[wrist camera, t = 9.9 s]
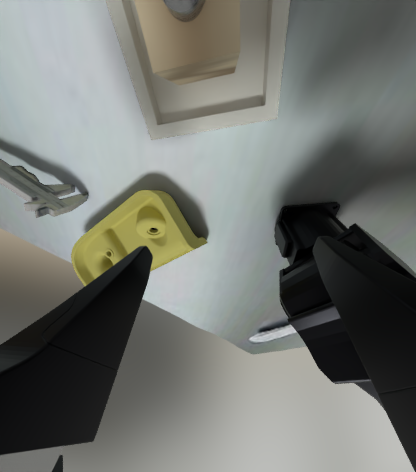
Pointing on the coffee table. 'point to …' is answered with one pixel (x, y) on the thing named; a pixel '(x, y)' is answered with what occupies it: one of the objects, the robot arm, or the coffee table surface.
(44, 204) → the caliper
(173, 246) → the plastic component
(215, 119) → the housing tray
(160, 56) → the block
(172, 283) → the coffee table surface
